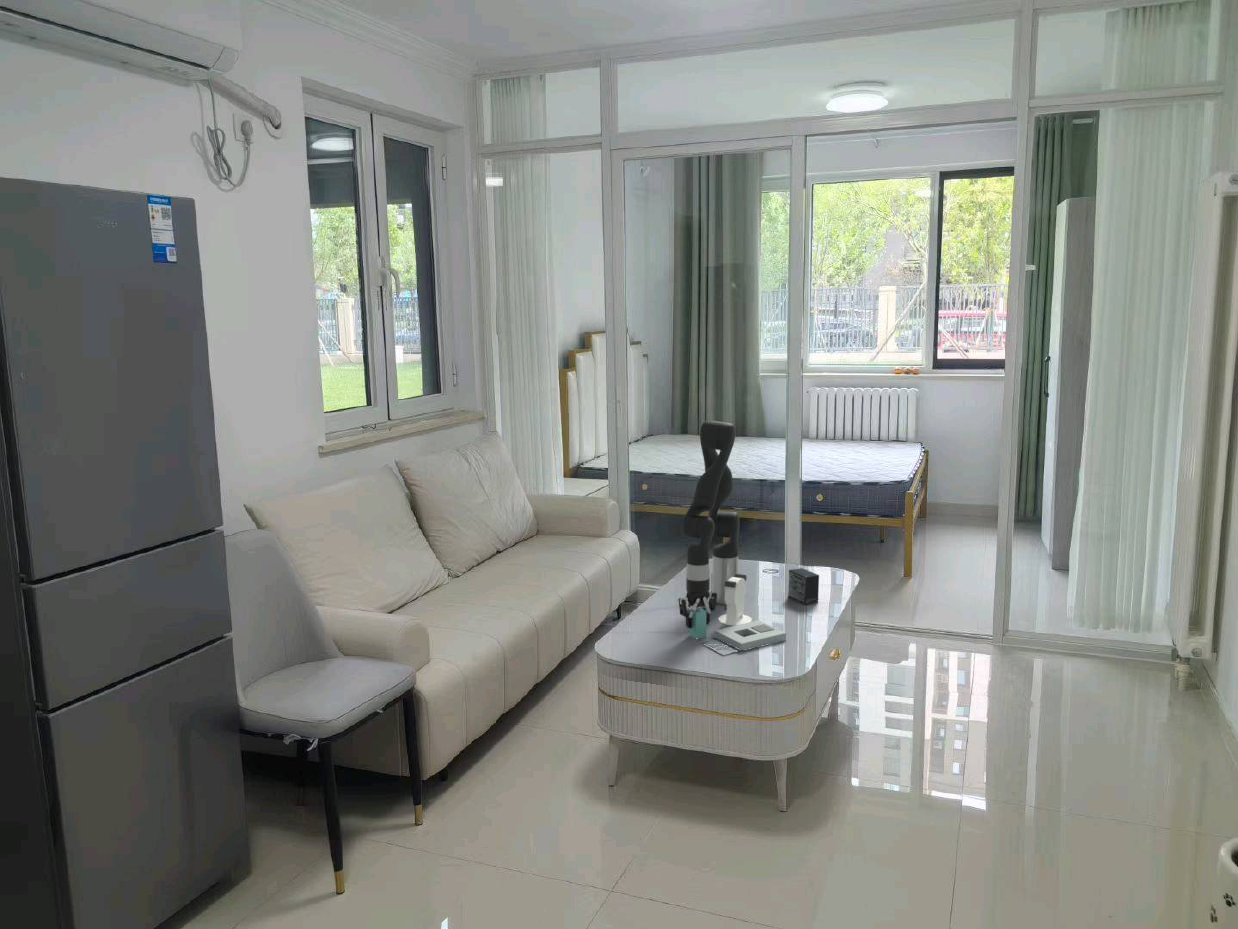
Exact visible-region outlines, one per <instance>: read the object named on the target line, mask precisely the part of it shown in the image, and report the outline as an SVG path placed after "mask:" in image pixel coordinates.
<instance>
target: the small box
mask: <svg viewBox="0 0 1238 929" xmlns="http://www.w3.org/2000/svg"><path fill="white" fill-rule="evenodd" d="M819 585H820V575H819V574H817V573H815V572H813V571H810V570H807V569H805V568H802V567H801V568H794V569H793V568H792V569H789V570H788V592H787V594H788V595H787V597H788V598H790V599H792V600H794V601H796V602H798V603H801V604H802V605H805V606H806V605H810V604H817V603H819V590H820V589H819V587H820V586H819Z"/></svg>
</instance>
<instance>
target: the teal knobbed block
mask: <svg viewBox="0 0 1238 929" xmlns="http://www.w3.org/2000/svg"><path fill="white" fill-rule="evenodd" d="M689 635H690V636H689ZM688 636H689V637H691V638H692V639H694V638H700V639H703V638H707V625H706V610H704V609H703V608H702V607H698V608H696V610H695V611H694V612H693V615H692V628H691V629H690V628H688Z"/></svg>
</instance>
